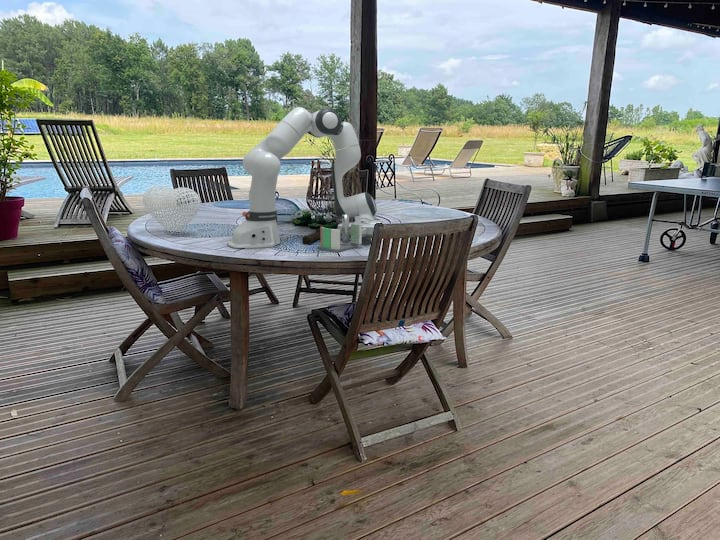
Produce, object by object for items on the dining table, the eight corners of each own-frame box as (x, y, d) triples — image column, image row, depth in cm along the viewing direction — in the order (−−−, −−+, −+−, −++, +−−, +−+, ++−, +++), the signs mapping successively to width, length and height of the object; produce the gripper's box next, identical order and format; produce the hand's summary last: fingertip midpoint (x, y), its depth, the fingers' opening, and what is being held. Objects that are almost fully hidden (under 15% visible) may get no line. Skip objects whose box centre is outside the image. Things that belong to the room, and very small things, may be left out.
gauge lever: (344, 240, 217) (344, 214, 214) (362, 243, 212) (362, 216, 209) (323, 246, 206) (323, 218, 203) (341, 249, 201) (341, 220, 198)
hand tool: (310, 245, 218) (310, 235, 216) (301, 244, 219) (301, 234, 218) (328, 237, 235) (328, 228, 233) (320, 237, 236) (320, 227, 235)
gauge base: (340, 243, 222) (340, 222, 219) (360, 246, 215) (360, 225, 213) (317, 248, 210) (316, 227, 208) (336, 252, 204) (336, 230, 201)
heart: (209, 234, 238) (206, 186, 232) (185, 240, 224) (181, 189, 218) (164, 229, 249) (160, 183, 243) (139, 234, 235) (134, 186, 229)
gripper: (340, 218, 226) (334, 224, 213) (386, 219, 223) (382, 225, 210) (341, 232, 228) (334, 238, 215) (386, 233, 225) (381, 240, 211)
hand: (358, 232), depth 212 cm, fingers closed
